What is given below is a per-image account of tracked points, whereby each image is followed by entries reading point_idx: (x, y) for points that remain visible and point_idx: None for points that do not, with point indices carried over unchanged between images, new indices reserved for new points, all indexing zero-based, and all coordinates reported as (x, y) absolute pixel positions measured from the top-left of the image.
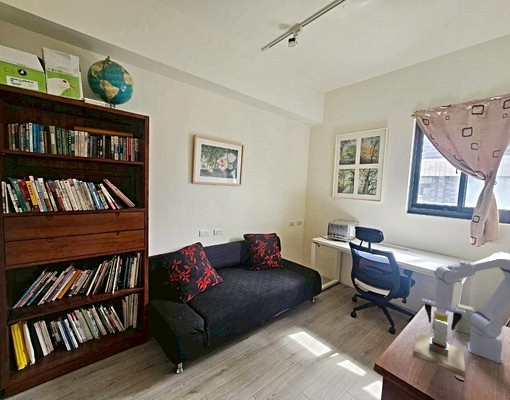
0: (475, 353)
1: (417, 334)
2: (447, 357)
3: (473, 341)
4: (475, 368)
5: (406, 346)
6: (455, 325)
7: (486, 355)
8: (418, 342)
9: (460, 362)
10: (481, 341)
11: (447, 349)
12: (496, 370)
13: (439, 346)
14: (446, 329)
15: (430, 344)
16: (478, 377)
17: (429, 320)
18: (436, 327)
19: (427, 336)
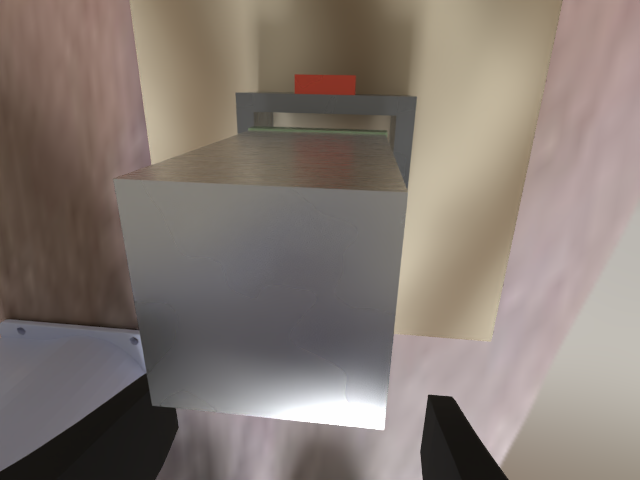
0: (114, 331)
1: (492, 309)
2: (260, 88)
3: (86, 408)
4: (99, 145)
5: (607, 60)
6: (62, 432)
7: (56, 341)
8: (498, 168)
9: (167, 89)
10: (9, 412)
11: (245, 104)
12: (6, 223)
13: (319, 105)
14: (164, 165)
15: (408, 96)
16: (67, 24)
17: (459, 420)
18: (362, 170)
19: (409, 330)
